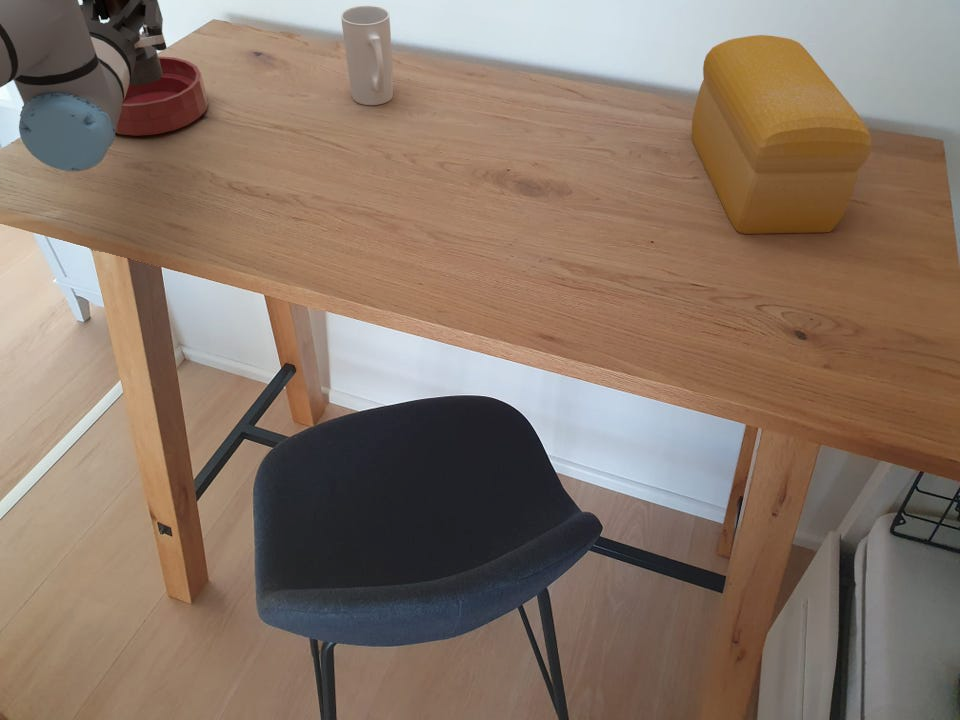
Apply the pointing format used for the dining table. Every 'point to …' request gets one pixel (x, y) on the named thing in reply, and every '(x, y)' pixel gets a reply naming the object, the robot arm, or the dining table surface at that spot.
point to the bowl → (164, 100)
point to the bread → (776, 137)
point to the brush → (147, 60)
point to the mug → (368, 54)
